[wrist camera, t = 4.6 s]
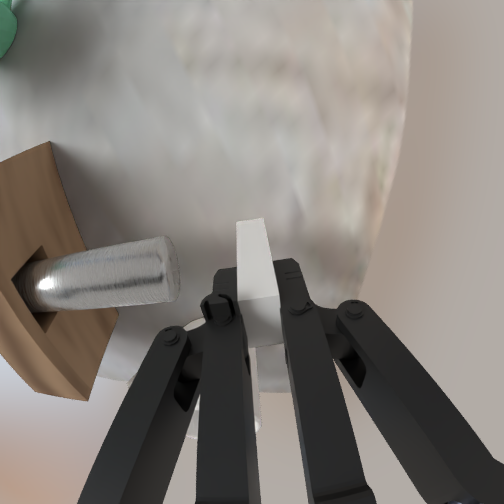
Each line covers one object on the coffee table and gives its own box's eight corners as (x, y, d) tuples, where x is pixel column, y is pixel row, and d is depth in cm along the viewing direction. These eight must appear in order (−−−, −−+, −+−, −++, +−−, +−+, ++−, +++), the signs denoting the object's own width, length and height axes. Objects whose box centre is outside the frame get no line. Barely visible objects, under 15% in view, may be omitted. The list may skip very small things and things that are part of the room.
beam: (70, 318, 26) (35, 391, 17) (1, 167, 16) (-76, 217, 8) (118, 315, 26) (88, 401, 17) (49, 141, 16) (-45, 187, 7)
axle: (0, 297, 18) (-18, 322, 15) (-18, 266, 16) (-38, 290, 13) (183, 275, 17) (173, 315, 14) (167, 224, 16) (151, 258, 12)
